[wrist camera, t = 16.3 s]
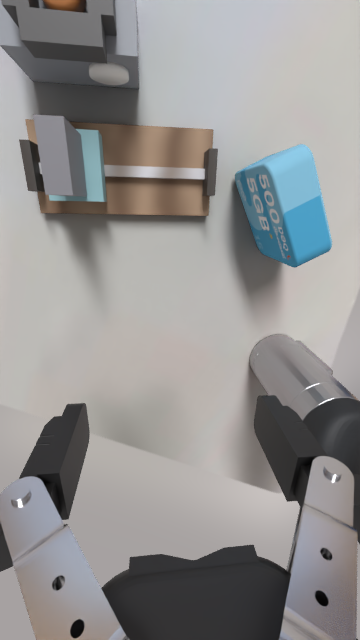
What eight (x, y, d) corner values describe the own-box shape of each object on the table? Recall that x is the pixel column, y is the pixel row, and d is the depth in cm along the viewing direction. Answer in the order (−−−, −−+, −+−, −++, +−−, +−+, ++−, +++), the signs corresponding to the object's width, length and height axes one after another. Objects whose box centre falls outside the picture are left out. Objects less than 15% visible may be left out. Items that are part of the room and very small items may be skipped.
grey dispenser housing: (136, 0, 30) (132, -102, 20) (139, 95, 33) (137, 49, 23) (18, -13, 28) (-50, -130, 18) (34, 88, 32) (-17, 36, 22)
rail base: (210, 132, 36) (219, 123, 31) (206, 215, 39) (213, 216, 35) (30, 122, 33) (14, 111, 29) (44, 212, 37) (32, 213, 33)
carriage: (101, 136, 32) (85, 110, 23) (106, 201, 35) (93, 201, 26) (47, 133, 31) (8, 105, 22) (57, 200, 34) (25, 200, 25)
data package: (231, 173, 38) (267, 162, 27) (262, 158, 38) (310, 140, 27) (259, 253, 43) (298, 271, 32) (286, 239, 42) (335, 253, 31)
